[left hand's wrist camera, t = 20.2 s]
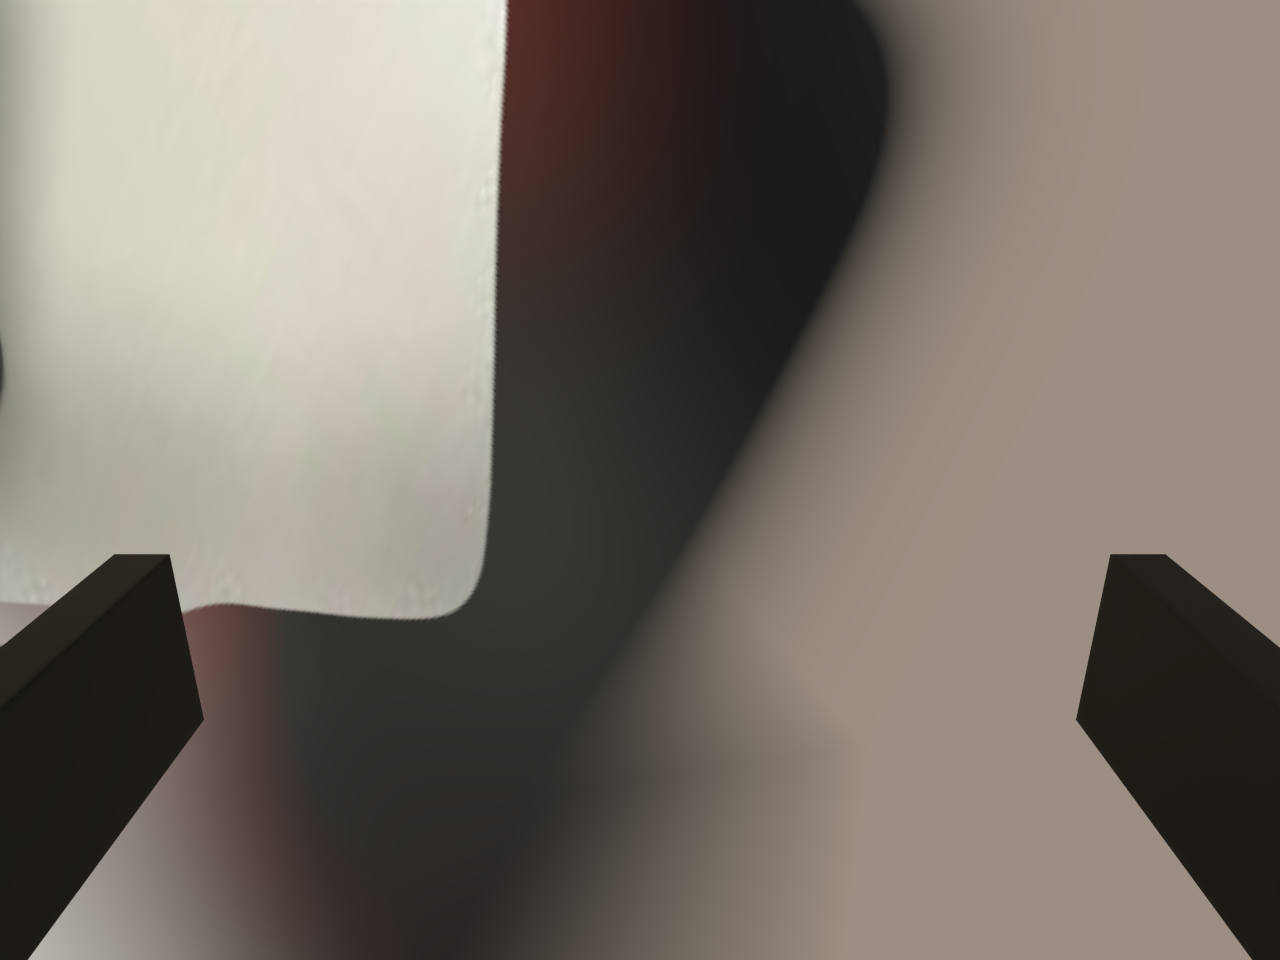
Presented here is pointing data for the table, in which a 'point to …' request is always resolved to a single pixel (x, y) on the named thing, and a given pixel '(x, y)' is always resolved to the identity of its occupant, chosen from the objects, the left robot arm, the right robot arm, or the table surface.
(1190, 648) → the left robot arm
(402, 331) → the table surface
